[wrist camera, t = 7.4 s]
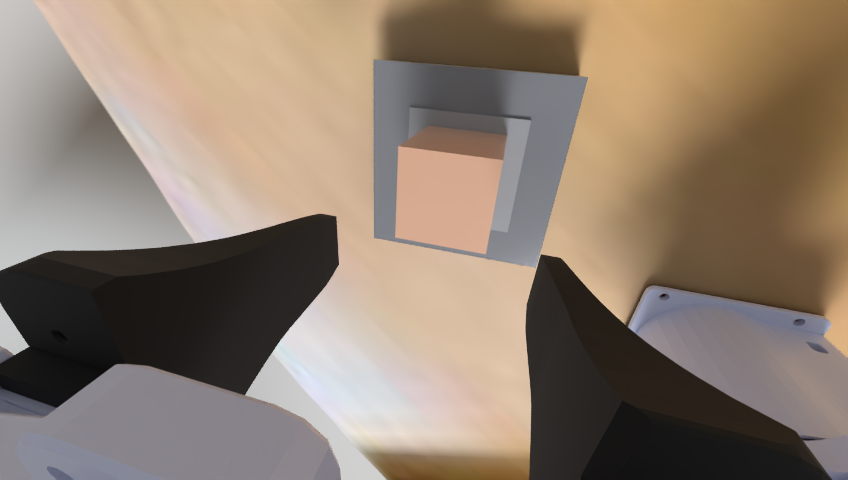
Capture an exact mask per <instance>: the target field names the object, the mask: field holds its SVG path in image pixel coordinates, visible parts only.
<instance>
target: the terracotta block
mask: <svg viewBox="0 0 848 480" xmlns="http://www.w3.org/2000/svg"><path fill="white" fill-rule="evenodd" d="M506 141H507V135H503V134H494V133H486V132H478V131H469V130H461V129H453V128H444V127H436V126H427V127H426V128H424V129H423V130H421V131H420V132H418V133H417V134H415V135H414V136H413V137H411V138H410V139H408V140H407V141H405V142H404V143H402V144H401V145H399V146H398V170H397V200H396V229H395V238H400V239H406V240H411V241H416V242H422V243H427V244H433V245H438V246H443V247H449V248H454V249H460V250H465V251H470V252H476V253H481V254H486V251H487V245H488V240H489V235H490V229H491V224H492V219H493V213H494V208H495V203H496V197H497V192H498V186H499V181H500V176H501V170H502V165H503V159H504V153H505V147H506Z"/></svg>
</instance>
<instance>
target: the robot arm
mask: <svg viewBox="0 0 848 480" xmlns="http://www.w3.org/2000/svg"><path fill="white" fill-rule="evenodd" d="M338 265H339V258H338V239H337V221H336V216H330V215H325V214H316V215H311V216H307V217H303V218H299V219H296V220H292V221H289V222H285V223H282V224H278V225H275V226H272V227H268V228H264V229H260V230H257V231H253V232H249V233H245V234H241V235H237V236H233V237H228V238H223V239H218V240H212V241H207V242H201V243H194V244H186V245H179V246H170V247H161V248H148V249H135V250H112V251H111V250H110V251H52V252H47V253H44V254H41V255H38V256H36V257H33V258H31V259H28V260H26V261H24V262H21V263H18V264H16V265H14V266H11V267H8V268H6V269H3V270H1V271H0V303H1V304H2V306H3V308H4V310H5V311H6V313H7V314H8V316H9V317H10V319H11V320H12V321H13V323H14V324H15V326H16V328H17V329H18V331H19V332H20V333H21V335H22V336H23V338H24V339H25V341H26V342H27V344H28V345H29V346H30V347H28V348H26V349H25V350H23V351H21V352H19V353H18V354H16V355H13V354H12V353H11V352H9V351H8V350H7V349H5V348H2V347H0V480H341V477H340V468H339V465H338V462H337V459H336V457H335V455H334V453H333V450H332V448H331V446H330V444H329V442H328V440H327V439H326V438H325V437H324V436H323V435H322V434H320V432H319V431H317V430H316V429H315V428H314V427H313V426H312V425H311V424H310V423H309V422H307V421H306V420H305V419H304V418H302V417H300V416H298V415H296V414H293V413H291V412H289V411H287V410H285V409H283V408H281V407H279V406H276V405H274V404H271V403H268V402H265V401H261V400H258V399H255V398H252V397H248V396H245V394H246V392H247V391H248V389H249V387H250V386H251V384H252V382H253V381H254V379H255V378H256V376H257V375H258V373H259V372H260V370H261V368H262V367H263V365H264V364H265V362H266V361H267V359H268V357H269V356H270V355H271V353H272V352H273V350H274V349H275V347H276V346H277V344H278V343H279V342H280V340H281V339H282V337H283V336H284V335H285V334H286V332H287V331H288V330H289V328H290V327H291V326H292V325H293V324H294V323H295V321H296V320H297V319H298V318H299V317H300V316H301V314H302V313H303V312H304V311H305V310H306V309H307V307H308V306H309V305H310V304H311V303H312V302H313V300H314V299H315V298H316V297H317V296H318V294H319V293H320V292H321V291H322V290H323V288H324V287H325V286H326V285H327V283H328V282H329V280H330V278H331V277H332V275H333V274H334V272H335V270H336V268H337V267H338ZM661 294H667V295H666V296H664V297H660V295H661ZM797 319H799V320H798V321H795V320H797ZM794 321H795V322H794ZM830 327H831V322H830V321H829V320H828V319H827V318H825V317H823V316H820V315H815V314H809V313H804V312H798V311H793V310H788V309H782V308H777V307H771V306H766V305H760V304H755V303H749V302H744V301H738V300H733V299H727V298H722V297H716V296H711V295H705V294H700V293H695V292H689V291H684V290H678V289H673V288H667V287H662V286H654V285H653V286H649V287H648V288H646V290H645V291H644V293H643V295H642V297H641V299H640V302H639V304H638V306H637V308H636V310H635V312H634V314H633V316H632V318H631V320H630V323H629V325H628V327H627V326H626V325H625V324H624V323H622V322H621V321H620V320H619V319H618V318H617V317H616V316H615V315H613V314H612V313H611V312H610V311H609V310H608V309H607V308H606V307H605V306H604V305H603V304H602V303H601V302H600V301H599V300H598V299H597V298H596V297H595V296H594V295H593V294H592V293H591V292H590V291H589V289H588V288H587V287H586V286H585V285H584V284H583V283H582V282H581V280H580V279H579V278H578V277H577V276H576V275H575V274H574V272H573V271H572V270H571V269H570V268H569V267H568V265H567V264H566V263H565V262H564V261H563V260H562V259H561V258H558V257H552V256H547V255H541V256H540V260H539V263H538V267H537V270H536V274H535V277H534V281H533V284H532V288H531V292H530V295H529V299H528V302H527V311H526V342H527V354H528V365H529V376H530V387H531V445H530V474H529V480H848V358H847V357H846V356H845V355H844V354H843V353H842V352H841V351H839V350H838V349H837V348H836V347H835V346H834V345H833V344H832V343H830V342H829V341H828V340H827V339H826V338H825V337H824V336H823V335H824V334H825V333H826V332H827V331H828V329H829V328H830Z"/></svg>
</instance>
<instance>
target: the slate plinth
mask: <svg viewBox="0 0 848 480" xmlns="http://www.w3.org/2000/svg"><path fill="white" fill-rule="evenodd" d="M587 79H588V77H584V76H579V75H567V74H554V73H542V72H530V71H518V70H506V69H493V68H481V67H469V66H457V65H445V64H433V63H420V62H408V61H396V60H374V238H378V239H383V240H389V241H394V242H399V243H405V244H410V245H416V246H421V247H426V248H432V249H437V250H443V251H448V252H453V253H459V254H464V255H470V256H475V257H480V258H486V259H491V260H497V261H502V262H508V263H513V264H518V265H524V266H529V267H535V268H536V266H537V262H538V259H539V255H540V251H541V248H542V244H543V240H544V237H545V233H546V229H547V226H548V222H549V218H550V215H551V211H552V207H553V204H554V200H555V196H556V193H557V189H558V185H559V182H560V178H561V174H562V171H563V167H564V163H565V160H566V156H567V152H568V149H569V145H570V141H571V138H572V134H573V130H574V127H575V123H576V119H577V116H578V112H579V108H580V105H581V101H582V97H583V94H584V90H585V86H586V83H587ZM427 126H436V127H444V128H453V129H461V130H469V131H478V132H486V133H494V134H503V135H507V141H506V147H505V153H504V159H503V165H502V170H501V176H500V181H499V186H498V192H497V197H496V203H495V208H494V213H493V219H492V224H491V229H490V235H489V240H488V245H487V251H486V254H481V253H476V252H470V251H465V250H460V249H454V248H449V247H443V246H438V245H433V244H427V243H422V242H416V241H411V240H406V239H400V238H395V229H396V200H397V170H398V146H399V145H401V144H402V143H404V142H405V141H407V140H408V139H410V138H411V137H413V136H414V135H415V134H417V133H418V132H420V131H421V130H423V129H424V128H426V127H427Z"/></svg>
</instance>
